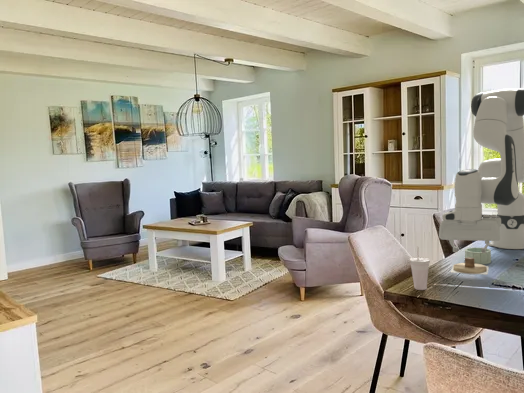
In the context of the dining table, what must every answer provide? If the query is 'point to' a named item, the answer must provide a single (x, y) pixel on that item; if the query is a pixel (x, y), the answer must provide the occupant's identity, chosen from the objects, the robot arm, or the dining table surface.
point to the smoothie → (420, 271)
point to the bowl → (478, 255)
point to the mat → (470, 273)
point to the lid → (469, 266)
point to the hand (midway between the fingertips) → (469, 252)
